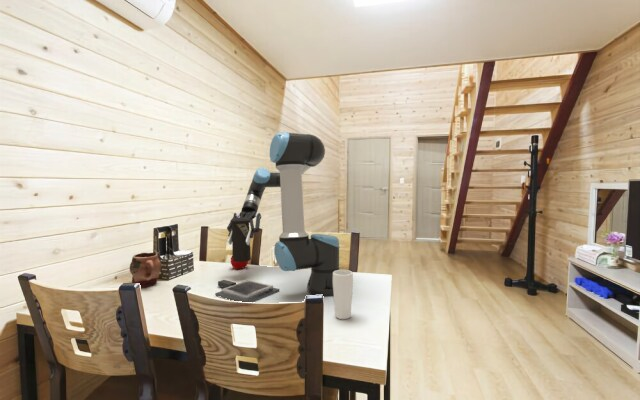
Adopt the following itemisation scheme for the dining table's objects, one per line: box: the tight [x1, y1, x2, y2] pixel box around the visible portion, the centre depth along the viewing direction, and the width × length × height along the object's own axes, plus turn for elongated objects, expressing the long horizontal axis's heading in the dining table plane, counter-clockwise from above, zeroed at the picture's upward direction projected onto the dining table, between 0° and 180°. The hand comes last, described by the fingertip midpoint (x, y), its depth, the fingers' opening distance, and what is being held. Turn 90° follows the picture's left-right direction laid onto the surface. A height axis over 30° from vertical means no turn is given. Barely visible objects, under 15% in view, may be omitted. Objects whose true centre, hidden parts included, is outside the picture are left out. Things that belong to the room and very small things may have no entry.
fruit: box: [230, 256, 249, 270], centre depth 171 cm, size 9×9×10 cm
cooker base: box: [214, 279, 280, 303], centre depth 133 cm, size 26×18×2 cm
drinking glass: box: [333, 269, 354, 320], centre depth 107 cm, size 7×7×15 cm
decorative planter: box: [129, 252, 162, 289], centre depth 143 cm, size 20×12×14 cm, turn 50°
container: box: [229, 218, 252, 262], centre depth 150 cm, size 9×9×20 cm
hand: (238, 243), depth 147 cm, fingers closed on container, 8 cm apart
